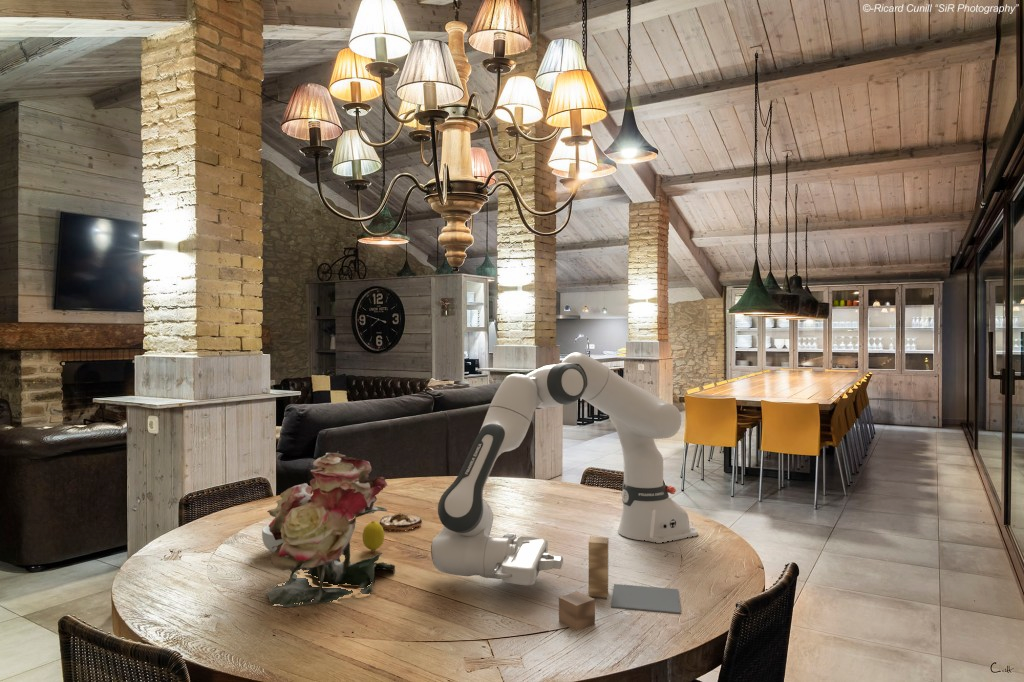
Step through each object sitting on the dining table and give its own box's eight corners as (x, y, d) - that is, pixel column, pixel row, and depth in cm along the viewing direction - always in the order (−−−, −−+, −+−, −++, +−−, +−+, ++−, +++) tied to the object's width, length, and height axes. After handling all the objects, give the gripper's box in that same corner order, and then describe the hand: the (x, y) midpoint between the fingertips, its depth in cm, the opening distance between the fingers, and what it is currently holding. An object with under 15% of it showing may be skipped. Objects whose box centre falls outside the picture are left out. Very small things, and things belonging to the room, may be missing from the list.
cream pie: (424, 518, 197) (424, 504, 197) (427, 532, 182) (427, 518, 182) (375, 520, 194) (375, 507, 194) (375, 536, 179) (375, 521, 179)
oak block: (588, 597, 136) (588, 542, 136) (590, 590, 140) (590, 536, 140) (607, 599, 135) (607, 543, 135) (608, 591, 139) (608, 537, 139)
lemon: (388, 549, 166) (388, 519, 166) (377, 556, 161) (377, 525, 161) (369, 547, 168) (369, 517, 168) (358, 553, 163) (358, 522, 163)
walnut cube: (577, 615, 127) (577, 590, 127) (594, 624, 123) (595, 599, 123) (558, 622, 124) (558, 597, 124) (576, 631, 120) (576, 605, 120)
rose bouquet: (283, 565, 155) (282, 443, 155) (401, 566, 154) (401, 444, 154) (234, 610, 129) (234, 464, 129) (376, 612, 129) (376, 465, 128)
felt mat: (611, 607, 131) (611, 606, 131) (613, 585, 143) (613, 583, 143) (680, 613, 128) (680, 612, 128) (677, 590, 140) (677, 589, 140)
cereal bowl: (344, 547, 168) (344, 521, 168) (298, 568, 152) (298, 539, 152) (295, 539, 175) (295, 513, 175) (247, 558, 160) (247, 530, 160)
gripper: (490, 560, 132) (555, 565, 129) (510, 530, 152) (567, 534, 149) (490, 590, 132) (555, 596, 129) (510, 556, 152) (567, 560, 149)
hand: (562, 562), depth 139 cm, fingers closed
